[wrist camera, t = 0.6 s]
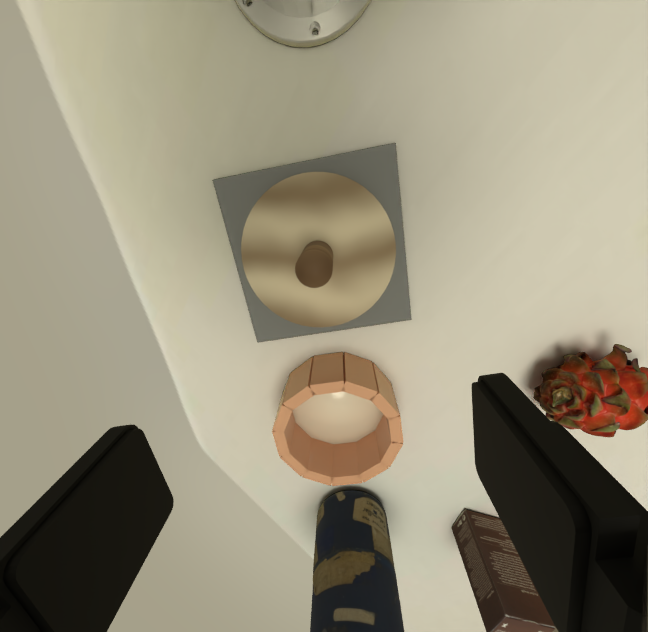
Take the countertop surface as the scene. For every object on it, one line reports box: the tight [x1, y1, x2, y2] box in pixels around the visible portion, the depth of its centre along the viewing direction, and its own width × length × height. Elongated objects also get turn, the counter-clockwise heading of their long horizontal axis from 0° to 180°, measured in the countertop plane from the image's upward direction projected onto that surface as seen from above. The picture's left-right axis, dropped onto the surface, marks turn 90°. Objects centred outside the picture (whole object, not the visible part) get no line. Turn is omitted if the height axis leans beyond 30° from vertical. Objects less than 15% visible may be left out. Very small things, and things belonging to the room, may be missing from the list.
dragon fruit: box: [533, 344, 648, 437], centre depth 33 cm, size 8×8×12 cm
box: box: [452, 509, 556, 632], centre depth 40 cm, size 6×4×12 cm
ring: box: [272, 352, 403, 486], centre depth 36 cm, size 13×13×6 cm
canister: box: [310, 490, 404, 632], centre depth 37 cm, size 10×10×18 cm
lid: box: [241, 172, 396, 327], centre depth 29 cm, size 15×15×7 cm
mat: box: [213, 143, 411, 342], centre depth 32 cm, size 17×17×1 cm
